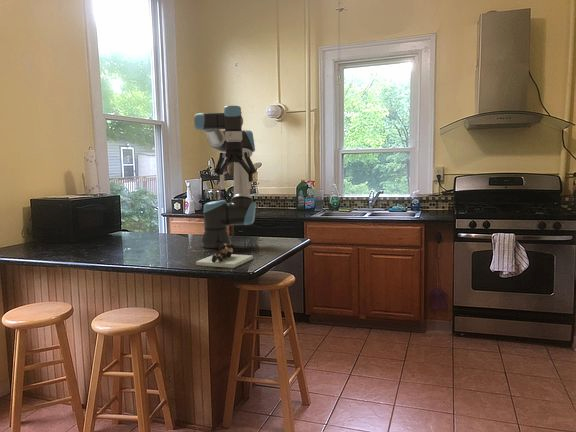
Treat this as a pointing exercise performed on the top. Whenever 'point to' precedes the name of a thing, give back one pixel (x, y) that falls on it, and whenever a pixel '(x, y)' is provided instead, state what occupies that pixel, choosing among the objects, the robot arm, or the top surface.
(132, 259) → the top surface
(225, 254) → the toy
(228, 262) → the baseplate
